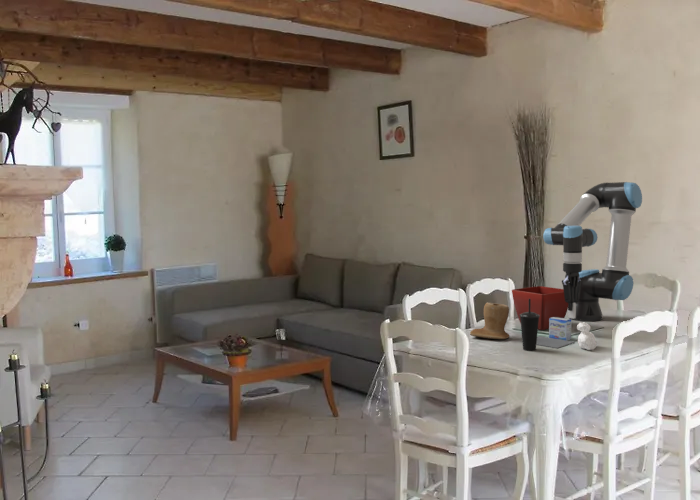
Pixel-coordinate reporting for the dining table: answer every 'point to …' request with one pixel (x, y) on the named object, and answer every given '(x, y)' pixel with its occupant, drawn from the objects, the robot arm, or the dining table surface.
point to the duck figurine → (586, 337)
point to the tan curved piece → (493, 322)
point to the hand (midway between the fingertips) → (571, 317)
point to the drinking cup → (529, 329)
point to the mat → (552, 342)
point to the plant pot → (541, 303)
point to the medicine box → (560, 328)
